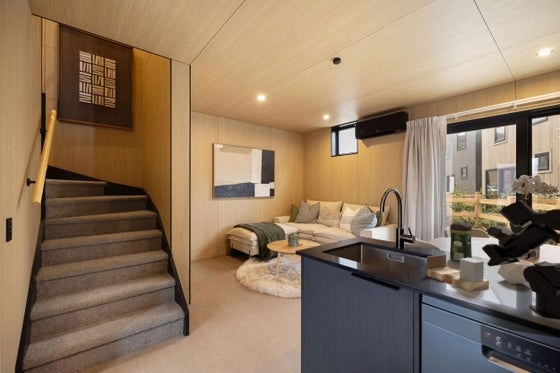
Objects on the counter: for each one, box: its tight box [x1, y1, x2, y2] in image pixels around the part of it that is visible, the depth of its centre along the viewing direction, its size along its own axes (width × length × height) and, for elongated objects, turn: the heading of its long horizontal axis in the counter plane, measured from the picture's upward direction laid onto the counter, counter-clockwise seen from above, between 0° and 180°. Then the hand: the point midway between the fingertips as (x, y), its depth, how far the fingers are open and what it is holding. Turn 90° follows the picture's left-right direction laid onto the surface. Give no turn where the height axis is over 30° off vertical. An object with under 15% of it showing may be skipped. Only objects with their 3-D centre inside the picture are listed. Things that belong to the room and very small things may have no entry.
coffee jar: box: [449, 221, 473, 263], centre depth 125 cm, size 10×8×19 cm
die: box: [496, 262, 526, 285], centre depth 96 cm, size 8×9×10 cm
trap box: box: [426, 254, 490, 292], centre depth 97 cm, size 17×10×8 cm, turn 21°
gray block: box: [459, 258, 485, 283], centre depth 92 cm, size 5×5×7 cm
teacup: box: [518, 259, 534, 268], centre depth 104 cm, size 10×8×5 cm
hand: (488, 265), depth 87 cm, fingers closed
